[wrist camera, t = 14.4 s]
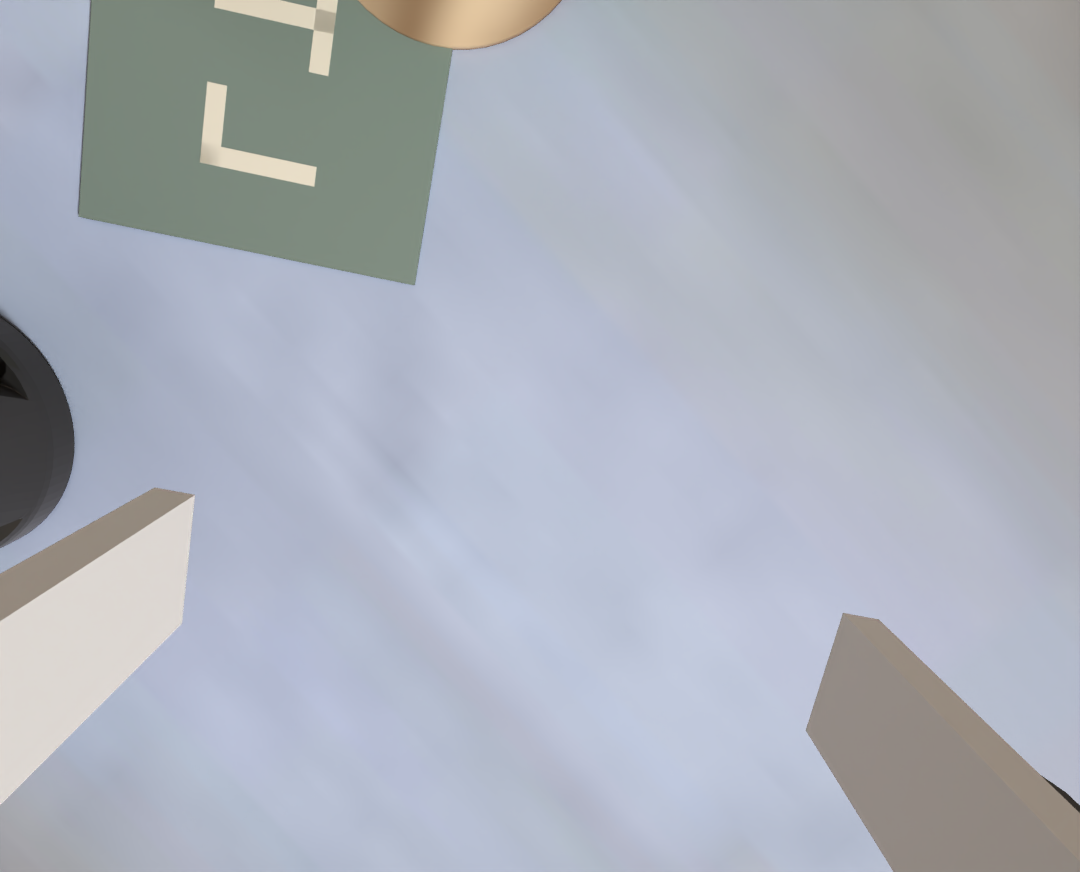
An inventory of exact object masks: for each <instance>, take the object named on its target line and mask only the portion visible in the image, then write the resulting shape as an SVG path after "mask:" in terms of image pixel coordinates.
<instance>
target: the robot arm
mask: <svg viewBox="0 0 1080 872" xmlns="http://www.w3.org/2000/svg"><path fill="white" fill-rule="evenodd" d="M73 459H74V430H73V423H72V418H71V413H70V410H69V406H68V403H67V400H66V398H65V395H64V392H63V390H62V388H61V386H60V384H59V382H58V380H57V378H56V376H55V374H54V373H53V371H52V370H51V368H50V366H49V365H48V363H47V362H46V361H45V359H44V358H43V357H42V355H41V354H40V353H39V352H38V351H37V349H36V348H35V347H34V346H33V345H32V344H31V343H30V342H29V341H28V340H27V339H26V338H25V337H24V336H23V335H22V334H21V333H20V332H19V331H17V330H16V329H15V328H14V327H13V326H11V325H10V324H9V323H7V322H6V321H4V320H3V319H2V318H0V548H2V547H4V546H6V545H8V544H10V543H11V542H13V541H15V540H17V539H19V538H21V537H23V536H24V535H26V534H28V533H29V532H31V531H32V530H33V529H35V528H36V527H37V526H38V525H39V524H41V523H42V522H43V521H44V520H45V519H46V518H47V517H48V515H49V514H50V513H51V512H52V511H53V509H54V508H55V506H56V505H57V504H58V502H59V500H60V498H61V497H62V495H63V493H64V491H65V489H66V486H67V483H68V481H69V478H70V474H71V470H72V465H73ZM194 499H195V495H192V494H187V493H182V492H176V491H171V490H165V489H160V488H153V489H151V490H150V491H148V492H146V493H144V494H142V495H141V496H139V497H137V498H135V499H133V500H132V501H130V502H128V503H126V504H124V505H123V506H121V507H119V508H117V509H116V510H114V511H112V512H110V513H108V514H107V515H105V516H103V517H101V518H99V519H98V520H96V521H94V522H92V523H90V524H89V525H87V526H85V527H83V528H82V529H80V530H78V531H76V532H74V533H73V534H71V535H69V536H67V537H65V538H64V539H62V540H60V541H58V542H56V543H55V544H53V545H51V546H49V547H48V548H46V549H44V550H42V551H40V552H39V553H37V554H35V555H33V556H31V557H30V558H28V559H26V560H24V561H22V562H21V563H19V564H17V565H15V566H14V567H12V568H10V569H8V570H6V571H5V572H3V573H1V574H0V805H1V804H2V803H3V802H4V801H5V800H6V799H7V798H8V797H9V796H10V795H11V794H12V793H13V792H14V791H15V790H16V789H17V788H18V787H19V786H20V785H21V784H22V783H23V782H24V781H25V780H26V779H27V778H28V777H29V776H30V775H31V774H32V773H33V772H34V771H35V770H36V769H37V768H38V767H39V766H40V765H41V764H42V763H43V762H44V761H45V760H46V759H47V758H48V757H49V756H50V755H51V754H52V753H53V752H54V751H55V750H56V749H57V748H58V747H59V746H60V745H61V744H62V743H63V742H64V741H65V740H66V739H67V738H68V737H69V736H70V735H71V734H72V733H73V732H74V731H75V730H76V729H77V728H78V727H79V726H80V725H81V724H82V723H83V722H84V721H85V720H86V719H87V718H88V717H89V716H90V715H91V714H92V713H93V712H94V711H95V710H96V709H97V708H98V707H99V706H100V705H101V704H102V703H103V702H104V701H105V700H106V699H107V698H108V697H109V696H110V695H111V694H112V693H113V692H114V691H115V690H116V689H117V688H118V687H119V686H120V685H121V684H122V683H123V682H124V681H125V680H126V679H127V678H128V677H129V676H130V675H131V674H132V673H133V672H134V671H135V670H136V669H137V668H138V667H139V666H140V665H141V664H142V663H143V662H144V661H145V660H146V659H147V658H148V657H149V656H150V655H151V654H152V653H153V652H154V651H155V650H156V649H157V648H158V647H159V646H160V645H161V644H162V643H163V642H164V641H165V640H166V639H167V638H168V637H169V636H170V635H171V634H172V633H173V632H174V631H175V630H176V629H177V628H178V627H179V626H180V625H181V624H182V617H183V607H184V597H185V588H186V578H187V568H188V558H189V548H190V538H191V528H192V519H193V509H194ZM806 731H807V733H808V735H809V736H810V738H811V740H812V741H813V743H814V744H815V746H816V748H817V749H818V751H819V752H820V754H821V756H822V757H823V759H824V760H825V762H826V764H827V765H828V767H829V769H830V770H831V772H832V773H833V775H834V777H835V778H836V780H837V781H838V783H839V785H840V786H841V788H842V789H843V791H844V793H845V794H846V796H847V797H848V799H849V801H850V802H851V804H852V806H853V807H854V809H855V810H856V812H857V814H858V815H859V817H860V818H861V820H862V822H863V823H864V825H865V826H866V828H867V830H868V831H869V833H870V834H871V836H872V838H873V839H874V841H875V843H876V844H877V846H878V847H879V849H880V851H881V852H882V854H883V855H884V857H885V859H886V860H887V862H888V863H889V865H890V867H891V868H892V870H893V872H1080V805H1079V804H1077V803H1076V802H1075V801H1074V800H1073V799H1072V798H1071V797H1070V796H1069V795H1068V794H1067V793H1066V792H1064V791H1063V790H1062V789H1060V788H1059V787H1057V786H1056V785H1054V784H1053V783H1051V782H1050V781H1048V780H1047V779H1046V778H1044V777H1043V776H1041V775H1040V774H1039V773H1038V772H1037V771H1036V770H1035V769H1033V768H1032V767H1031V766H1030V765H1029V764H1028V763H1027V762H1026V761H1025V760H1024V759H1023V758H1022V757H1021V756H1020V755H1019V754H1018V753H1017V752H1016V751H1015V750H1014V749H1013V748H1012V747H1011V746H1010V745H1009V744H1008V743H1006V742H1005V741H1004V740H1003V739H1002V738H1001V737H1000V736H999V735H998V734H997V733H996V732H995V731H994V730H993V729H992V728H991V727H990V726H989V725H988V724H987V723H986V722H985V721H984V720H983V719H982V718H981V717H979V716H978V715H977V714H976V713H975V712H974V711H973V710H972V709H971V708H970V707H969V706H968V705H967V704H966V703H965V702H964V701H963V700H962V699H961V698H960V697H959V696H958V695H957V694H956V693H955V692H953V691H952V690H951V689H950V688H949V687H948V686H947V685H946V684H945V683H944V682H943V681H942V680H941V679H940V678H939V677H938V676H937V675H936V674H935V673H934V672H933V671H932V670H931V669H930V668H929V667H928V666H926V665H925V664H924V663H923V662H922V661H921V660H920V659H919V658H918V657H917V656H916V655H915V654H914V653H913V652H912V651H911V650H910V649H909V648H908V647H907V646H906V645H905V644H904V643H903V642H902V641H900V640H899V639H898V638H897V637H896V636H895V635H894V634H893V633H892V632H891V631H890V630H889V629H888V628H887V627H886V626H885V625H884V624H883V623H882V622H881V621H880V620H879V619H873V618H868V617H862V616H857V615H851V614H846V613H843V615H842V618H841V621H840V624H839V627H838V631H837V634H836V637H835V640H834V643H833V646H832V649H831V653H830V656H829V659H828V662H827V665H826V668H825V671H824V675H823V678H822V681H821V684H820V687H819V690H818V693H817V697H816V700H815V703H814V706H813V709H812V712H811V715H810V719H809V722H808V725H807V728H806Z"/></svg>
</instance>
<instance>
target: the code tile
mask: <svg viewBox="0 0 1080 872" xmlns="http://www.w3.org/2000/svg"><path fill="white" fill-rule="evenodd" d="M452 50H453V49H452V48H444V47H438V46H432V45H428V44H425V43H422V42H418V41H415V40H413V39H411V38H409V37H406V36H404V35H402V34H400V33H398V32H396V31H395V30H393V29H391V28H390V27H388V26H387V25H385V24H383V23H382V22H381V21H379V20H378V19H377V18H376V17H375V16H373V15H372V14H371V13H370V12H369V11H367V10H366V9H365V8H364V6H363V5H362V4H361V3H360V2H359V1H358V0H92V1H91V18H90V35H89V52H88V69H87V85H86V102H85V119H84V136H83V152H82V169H81V186H80V203H79V217H83V218H87V219H92V220H97V221H102V222H107V223H112V224H117V225H122V226H127V227H132V228H136V229H141V230H146V231H151V232H156V233H161V234H166V235H171V236H176V237H181V238H185V239H190V240H195V241H200V242H205V243H210V244H215V245H220V246H225V247H229V248H234V249H239V250H244V251H249V252H254V253H259V254H264V255H269V256H274V257H278V258H283V259H288V260H293V261H298V262H303V263H308V264H313V265H318V266H323V267H327V268H332V269H337V270H342V271H347V272H352V273H357V274H362V275H367V276H371V277H376V278H381V279H386V280H391V281H396V282H401V283H406V284H411V285H415V280H416V274H417V268H418V262H419V255H420V249H421V243H422V237H423V231H424V224H425V218H426V212H427V206H428V199H429V193H430V187H431V181H432V174H433V168H434V162H435V156H436V149H437V143H438V137H439V131H440V125H441V118H442V112H443V106H444V100H445V93H446V87H447V81H448V75H449V68H450V62H451V56H452Z"/></svg>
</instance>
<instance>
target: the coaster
mask: <svg viewBox="0 0 1080 872" xmlns="http://www.w3.org/2000/svg"><path fill="white" fill-rule="evenodd" d="M358 1H359V2H360V3H361V4H362V5H363V6H364V8H365V9H366V10H367V11H369V12H370V13H371V14H372V15H373V16H375V17H376V18H377V19H378V20H379V21H381V22H382V23H383V24H385V25H387V26H388V27H390V28H391V29H393V30H395V31H396V32H398V33H400V34H402V35H404V36H406V37H409V38H411V39H413V40H415V41H418V42H422V43H425V44H428V45H432V46H438V47H444V48H452V49H453V50H470V49H477V48H485V47H489V46H493V45H496V44H500V43H503V42H505V41H508V40H510V39H512V38H514V37H517V36H519V35H521V34H522V33H524V32H526V31H527V30H529V29H530V28H532V27H534V26H535V25H536V24H538V23H539V22H540V21H541V20H542V19H544V18H545V17H546V16H547V15H548V14H550V13H551V11H552V10H553V9H554V8H555V7H556V6H557V5H558V4H559V3H560V2H561V1H562V0H358Z"/></svg>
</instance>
